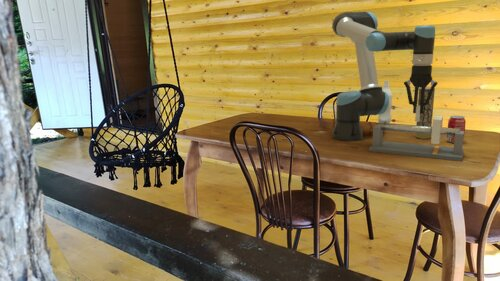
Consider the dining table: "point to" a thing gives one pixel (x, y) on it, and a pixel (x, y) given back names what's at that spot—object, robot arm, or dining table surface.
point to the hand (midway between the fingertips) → (417, 120)
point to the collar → (436, 129)
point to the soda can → (456, 126)
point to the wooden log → (426, 113)
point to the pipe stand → (418, 147)
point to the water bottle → (386, 115)
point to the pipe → (417, 129)
